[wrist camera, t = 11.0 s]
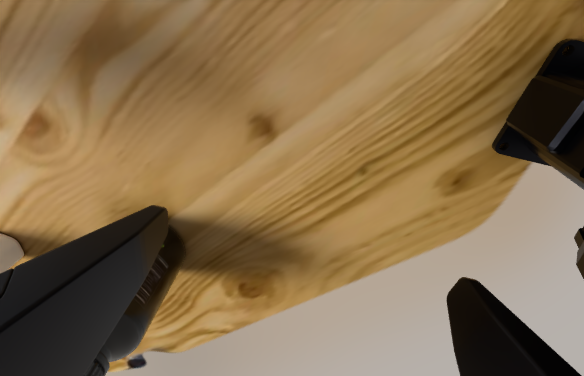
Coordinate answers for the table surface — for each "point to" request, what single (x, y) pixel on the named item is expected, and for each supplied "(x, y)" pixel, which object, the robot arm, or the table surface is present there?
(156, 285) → the supplement bottle
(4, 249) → the eye dropper bottle
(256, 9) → the table surface
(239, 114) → the table surface
